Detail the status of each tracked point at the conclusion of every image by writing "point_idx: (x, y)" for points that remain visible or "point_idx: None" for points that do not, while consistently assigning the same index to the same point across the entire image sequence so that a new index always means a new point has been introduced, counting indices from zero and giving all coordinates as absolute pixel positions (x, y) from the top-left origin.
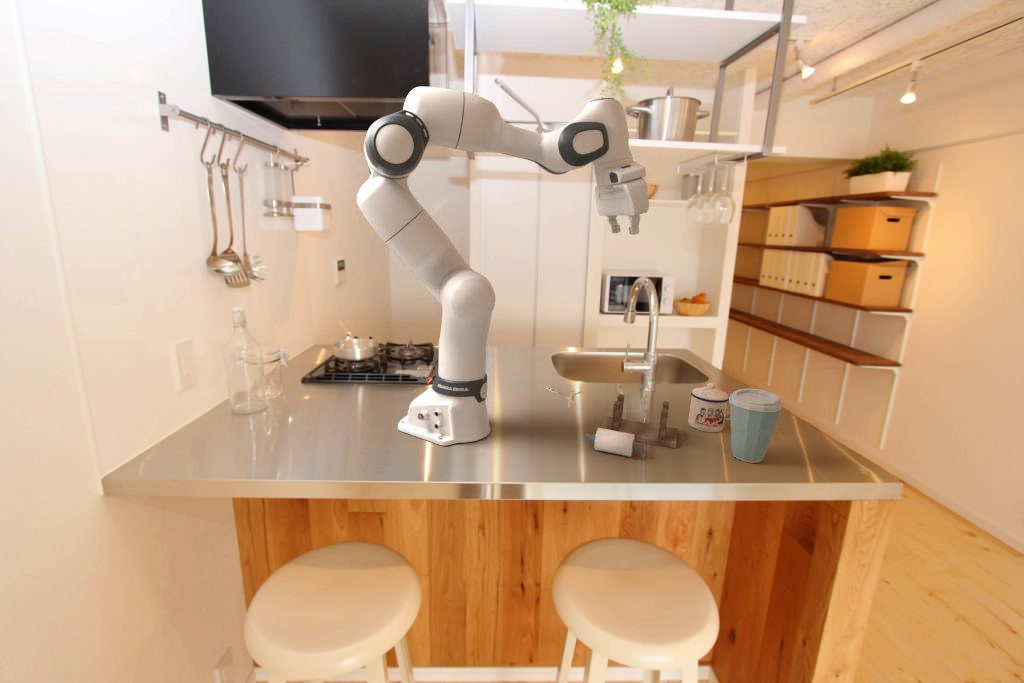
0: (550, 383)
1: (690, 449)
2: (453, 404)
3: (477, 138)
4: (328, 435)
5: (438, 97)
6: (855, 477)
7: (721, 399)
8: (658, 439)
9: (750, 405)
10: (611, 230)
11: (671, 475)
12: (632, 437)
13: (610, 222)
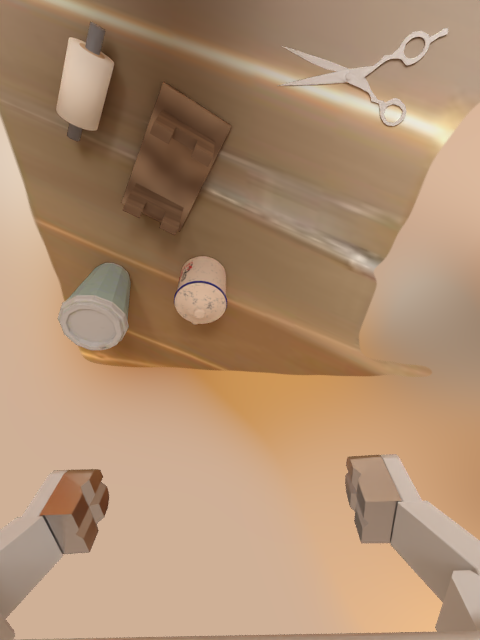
0: (470, 52)
1: (123, 220)
2: None
3: None
4: None
5: None
6: None
7: (175, 307)
8: (135, 183)
9: (61, 307)
10: (403, 468)
11: (31, 154)
12: (63, 117)
13: (438, 542)
